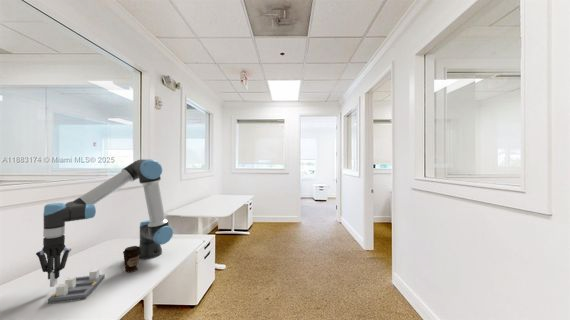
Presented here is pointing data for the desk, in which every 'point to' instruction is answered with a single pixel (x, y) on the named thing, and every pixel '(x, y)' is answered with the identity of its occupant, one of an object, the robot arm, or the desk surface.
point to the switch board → (78, 289)
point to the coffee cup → (131, 258)
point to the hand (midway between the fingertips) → (53, 285)
